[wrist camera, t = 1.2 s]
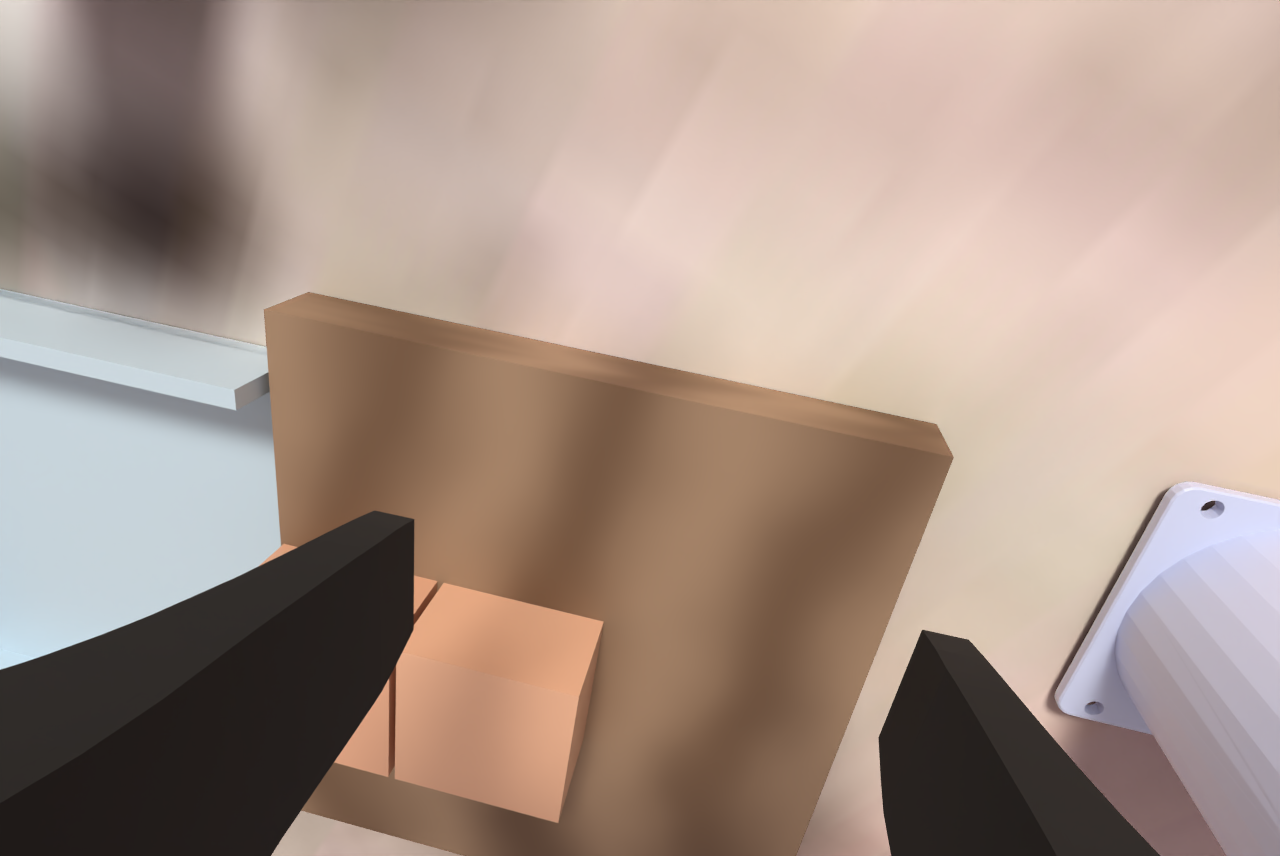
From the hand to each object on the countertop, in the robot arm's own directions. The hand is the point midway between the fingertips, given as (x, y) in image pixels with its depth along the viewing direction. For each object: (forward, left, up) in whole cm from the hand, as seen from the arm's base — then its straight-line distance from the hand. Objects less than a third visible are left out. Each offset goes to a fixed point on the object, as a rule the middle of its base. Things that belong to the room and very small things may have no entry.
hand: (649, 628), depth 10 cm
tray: (+20, +10, -11) cm, 25 cm away
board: (+3, +10, -11) cm, 15 cm away
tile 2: (+4, +10, -9) cm, 14 cm away
